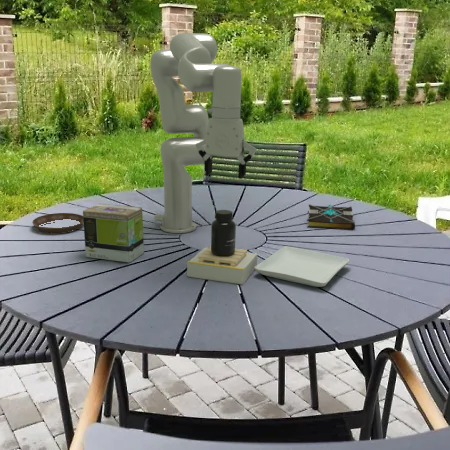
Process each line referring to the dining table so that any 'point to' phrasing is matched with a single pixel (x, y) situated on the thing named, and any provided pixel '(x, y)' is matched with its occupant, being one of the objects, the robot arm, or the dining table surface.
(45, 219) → the plant saucer
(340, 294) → the dining table surface
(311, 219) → the book
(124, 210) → the tea box
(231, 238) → the supplement bottle
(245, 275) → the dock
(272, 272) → the salad plate
